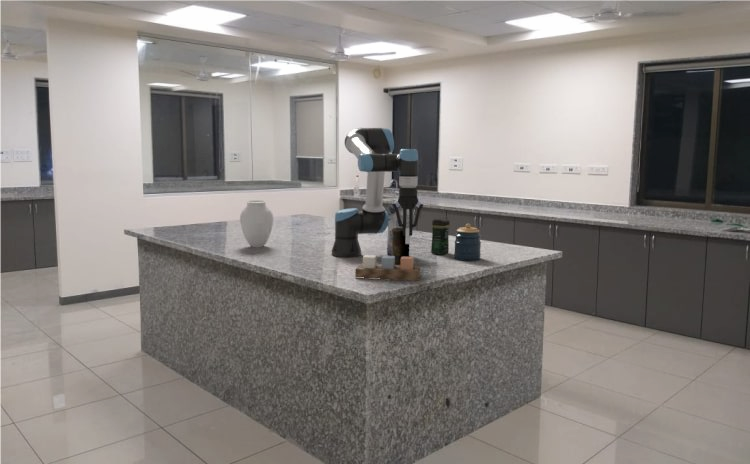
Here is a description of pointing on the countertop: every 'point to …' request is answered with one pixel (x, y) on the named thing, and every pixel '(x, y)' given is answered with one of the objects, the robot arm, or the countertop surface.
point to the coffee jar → (440, 236)
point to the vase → (256, 223)
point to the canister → (467, 244)
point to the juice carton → (394, 225)
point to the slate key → (388, 262)
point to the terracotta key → (407, 263)
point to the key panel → (388, 273)
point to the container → (399, 245)
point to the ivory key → (369, 261)
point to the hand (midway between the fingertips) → (407, 243)
